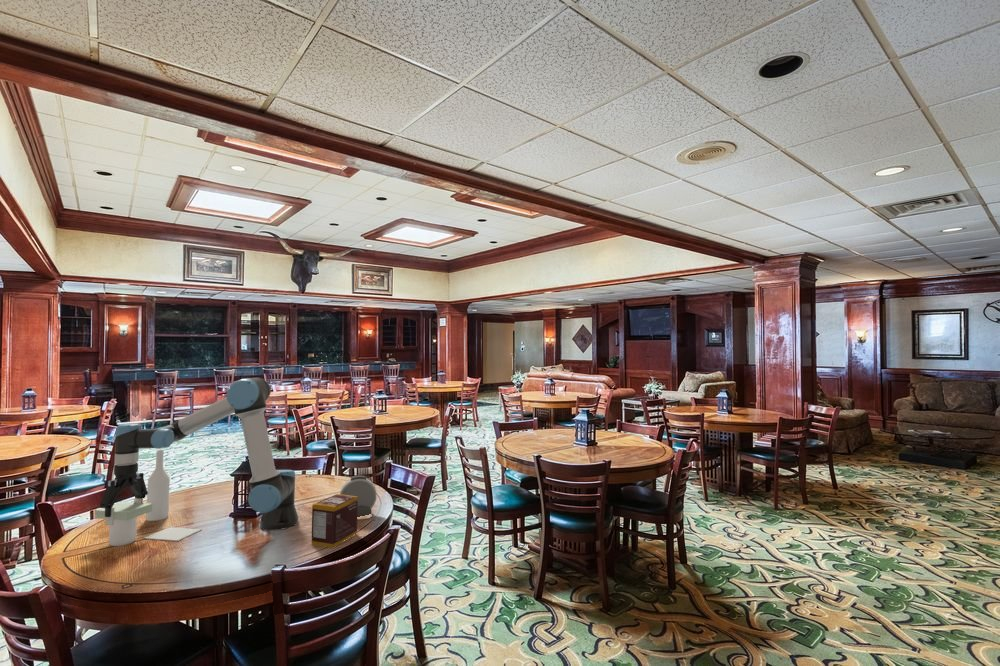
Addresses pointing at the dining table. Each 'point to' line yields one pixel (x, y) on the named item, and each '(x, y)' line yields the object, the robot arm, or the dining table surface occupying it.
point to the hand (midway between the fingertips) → (123, 519)
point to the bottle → (158, 491)
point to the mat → (173, 534)
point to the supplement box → (334, 520)
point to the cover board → (126, 510)
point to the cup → (122, 532)
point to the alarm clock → (361, 493)
